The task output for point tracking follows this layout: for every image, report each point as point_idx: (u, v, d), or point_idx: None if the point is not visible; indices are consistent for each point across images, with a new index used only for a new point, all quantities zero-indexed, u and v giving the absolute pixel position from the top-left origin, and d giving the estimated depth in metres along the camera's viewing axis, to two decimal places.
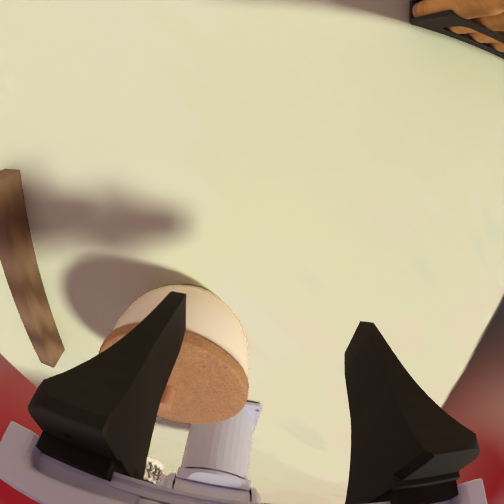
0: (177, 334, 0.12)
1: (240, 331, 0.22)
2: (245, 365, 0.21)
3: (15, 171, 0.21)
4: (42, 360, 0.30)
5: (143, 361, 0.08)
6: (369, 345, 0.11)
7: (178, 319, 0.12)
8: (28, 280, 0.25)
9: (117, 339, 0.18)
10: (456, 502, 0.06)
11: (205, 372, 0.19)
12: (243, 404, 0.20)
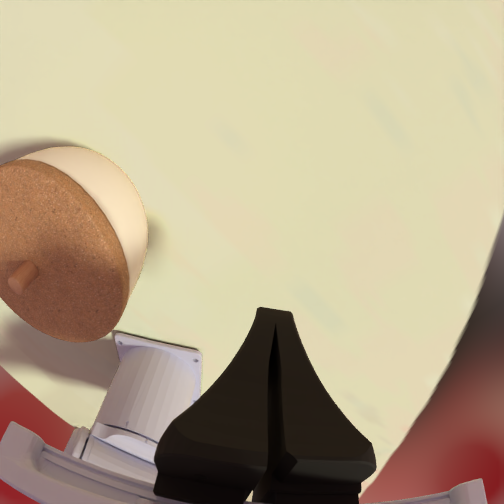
0: None
1: (127, 191, 0.15)
2: (122, 230, 0.14)
3: None
4: None
5: (266, 385, 0.08)
6: (276, 334, 0.11)
7: None
8: None
9: None
10: (456, 502, 0.06)
11: (57, 222, 0.12)
12: (119, 293, 0.14)
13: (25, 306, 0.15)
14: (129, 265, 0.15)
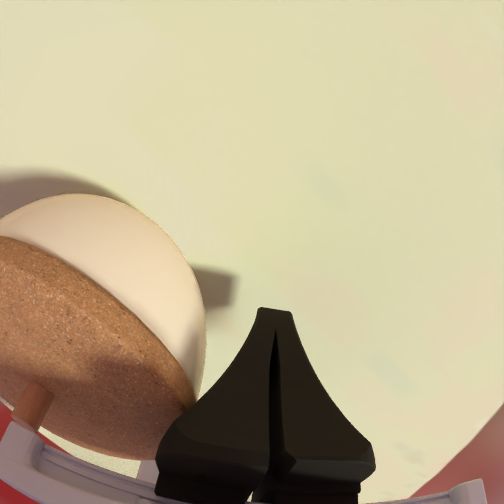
0: None
1: (181, 276, 0.10)
2: (186, 350, 0.09)
3: None
4: None
5: (267, 385, 0.08)
6: (275, 333, 0.11)
7: None
8: None
9: None
10: (456, 502, 0.06)
11: (78, 357, 0.07)
12: None
13: None
14: (196, 393, 0.09)
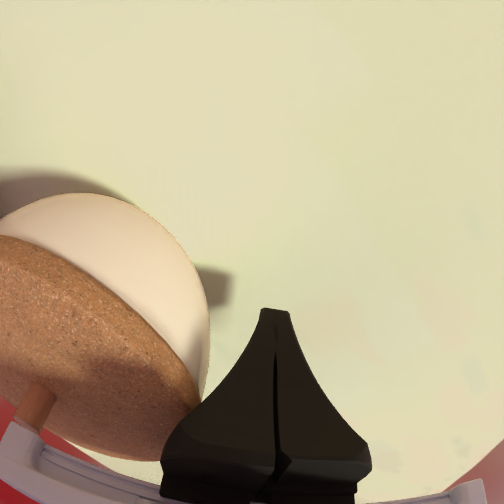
0: None
1: (186, 277, 0.10)
2: (191, 352, 0.09)
3: None
4: None
5: (271, 385, 0.08)
6: (272, 333, 0.11)
7: None
8: None
9: None
10: (456, 502, 0.06)
11: (83, 359, 0.07)
12: None
13: None
14: (200, 394, 0.09)
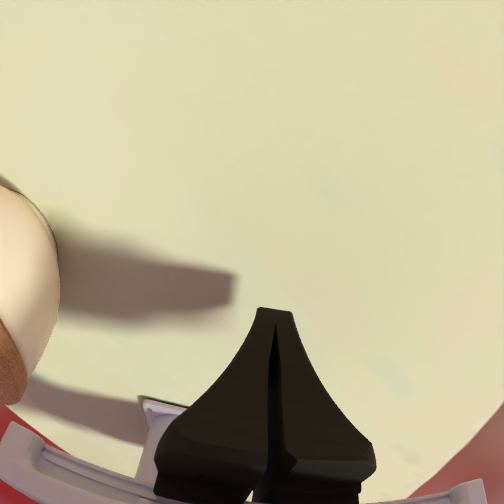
0: None
1: (16, 239, 0.10)
2: (2, 295, 0.09)
3: None
4: None
5: (266, 385, 0.08)
6: (276, 334, 0.11)
7: None
8: None
9: None
10: (456, 502, 0.06)
11: None
12: (6, 372, 0.09)
13: None
14: (18, 336, 0.09)
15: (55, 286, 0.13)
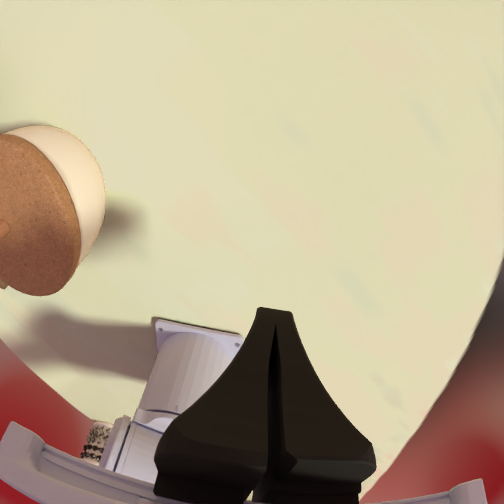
0: None
1: (85, 161, 0.17)
2: (76, 190, 0.15)
3: None
4: None
5: (266, 385, 0.08)
6: (276, 333, 0.11)
7: None
8: None
9: None
10: (456, 502, 0.06)
11: (23, 183, 0.13)
12: (70, 244, 0.15)
13: None
14: (81, 221, 0.16)
15: (104, 200, 0.19)
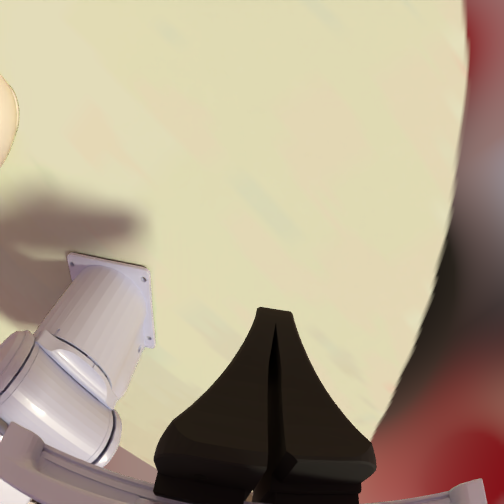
0: None
1: None
2: None
3: None
4: None
5: (266, 385, 0.08)
6: (276, 333, 0.11)
7: None
8: None
9: None
10: (456, 502, 0.06)
11: None
12: None
13: None
14: None
15: (10, 120, 0.16)
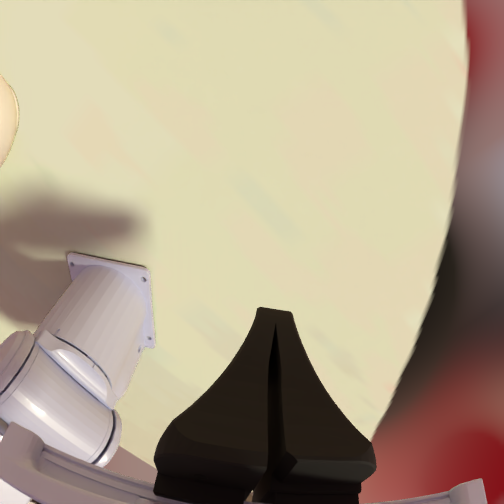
0: None
1: None
2: None
3: None
4: None
5: (266, 385, 0.08)
6: (276, 333, 0.11)
7: None
8: None
9: None
10: (456, 502, 0.06)
11: None
12: None
13: None
14: None
15: (10, 120, 0.16)
